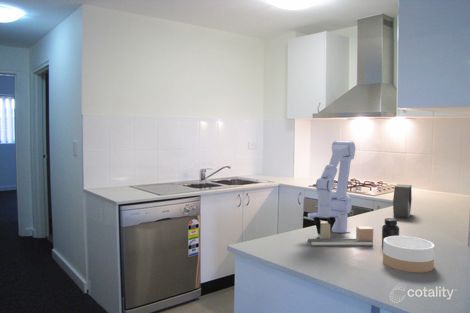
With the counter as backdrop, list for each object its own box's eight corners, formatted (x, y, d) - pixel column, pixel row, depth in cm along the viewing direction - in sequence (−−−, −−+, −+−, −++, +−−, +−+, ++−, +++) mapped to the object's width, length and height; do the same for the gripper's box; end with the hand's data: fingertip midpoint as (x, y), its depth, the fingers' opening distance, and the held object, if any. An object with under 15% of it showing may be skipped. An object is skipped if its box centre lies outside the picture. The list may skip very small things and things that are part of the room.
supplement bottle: (384, 243, 165) (385, 216, 164) (401, 246, 160) (402, 218, 159) (379, 247, 159) (380, 219, 158) (396, 250, 155) (397, 221, 154)
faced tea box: (356, 242, 167) (356, 226, 167) (369, 242, 167) (369, 226, 167) (359, 244, 163) (359, 228, 162) (373, 244, 163) (373, 228, 163)
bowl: (390, 253, 152) (391, 233, 151) (438, 263, 141) (439, 241, 140) (376, 265, 139) (376, 242, 138) (427, 276, 128) (428, 252, 127)
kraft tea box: (326, 236, 175) (326, 221, 175) (330, 239, 169) (330, 224, 169) (317, 236, 175) (317, 221, 175) (320, 239, 169) (321, 224, 169)
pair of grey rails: (307, 240, 169) (308, 236, 168) (365, 240, 169) (366, 236, 169) (311, 246, 161) (311, 241, 160) (372, 246, 161) (372, 241, 161)
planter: (407, 212, 206) (410, 178, 214) (391, 210, 210) (395, 177, 218) (409, 223, 219) (412, 191, 227) (394, 222, 223) (398, 190, 231)
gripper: (310, 206, 167) (309, 236, 168) (342, 206, 167) (342, 236, 168) (307, 203, 174) (306, 231, 175) (338, 202, 174) (337, 231, 175)
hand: (323, 233), depth 172 cm, fingers closed on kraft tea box, 4 cm apart
